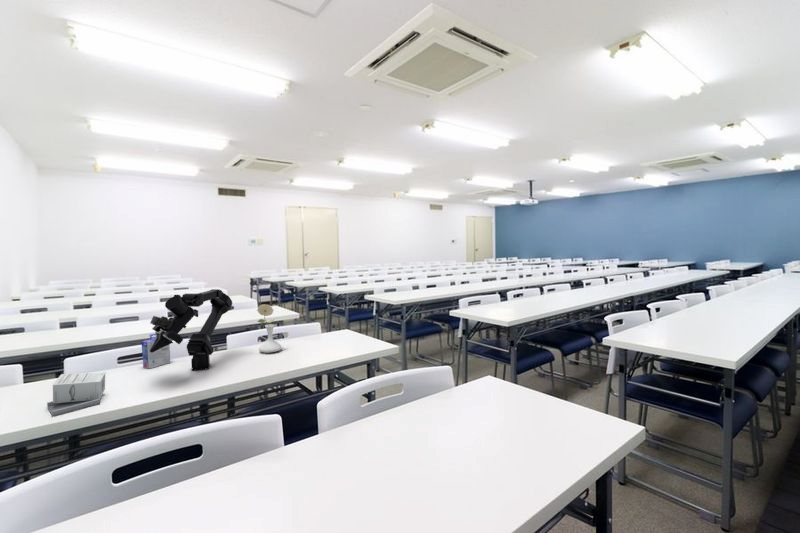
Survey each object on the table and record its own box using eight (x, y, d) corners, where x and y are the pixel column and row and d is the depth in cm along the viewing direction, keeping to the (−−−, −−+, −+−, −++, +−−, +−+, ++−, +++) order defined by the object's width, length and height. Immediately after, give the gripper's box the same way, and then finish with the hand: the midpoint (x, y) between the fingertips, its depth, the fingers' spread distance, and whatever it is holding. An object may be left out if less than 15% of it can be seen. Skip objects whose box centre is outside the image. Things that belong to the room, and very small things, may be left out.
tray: (93, 395, 130) (92, 391, 130) (100, 403, 123) (100, 399, 123) (47, 407, 120) (47, 402, 120) (52, 416, 113) (52, 411, 113)
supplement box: (99, 400, 125) (52, 404, 119) (105, 388, 132) (60, 392, 126) (100, 381, 124) (51, 385, 118) (105, 370, 130) (60, 373, 124)
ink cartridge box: (164, 361, 169) (163, 331, 168) (171, 362, 166) (170, 332, 166) (141, 367, 160) (140, 336, 159) (148, 369, 158) (147, 337, 157)
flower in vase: (286, 349, 189) (285, 303, 187) (273, 355, 178) (272, 306, 176) (264, 347, 192) (263, 302, 190) (251, 353, 181) (250, 305, 179)
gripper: (157, 305, 148) (125, 336, 140) (172, 311, 136) (139, 345, 128) (178, 320, 155) (150, 351, 147) (195, 327, 143) (165, 360, 135)
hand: (150, 351), depth 139 cm, fingers closed
